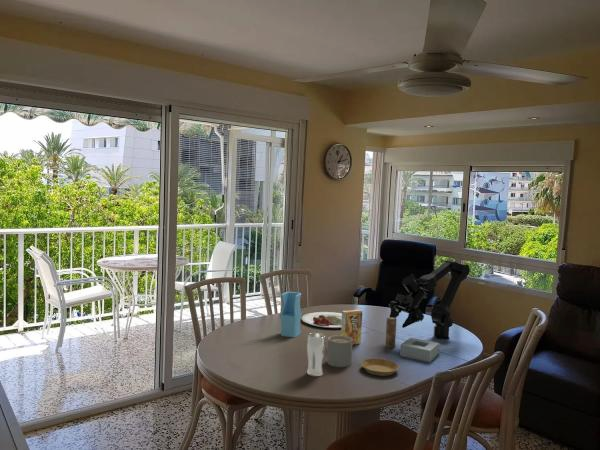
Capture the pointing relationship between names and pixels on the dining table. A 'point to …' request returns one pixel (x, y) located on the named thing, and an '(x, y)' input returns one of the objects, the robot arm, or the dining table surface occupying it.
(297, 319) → the vase
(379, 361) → the plant saucer
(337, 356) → the coffee mug
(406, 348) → the socket block
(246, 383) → the dining table surface
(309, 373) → the beer glass
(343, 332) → the candy box
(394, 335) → the walnut peg
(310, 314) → the plated food
